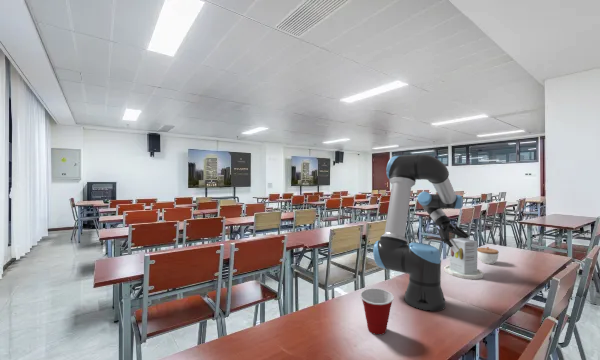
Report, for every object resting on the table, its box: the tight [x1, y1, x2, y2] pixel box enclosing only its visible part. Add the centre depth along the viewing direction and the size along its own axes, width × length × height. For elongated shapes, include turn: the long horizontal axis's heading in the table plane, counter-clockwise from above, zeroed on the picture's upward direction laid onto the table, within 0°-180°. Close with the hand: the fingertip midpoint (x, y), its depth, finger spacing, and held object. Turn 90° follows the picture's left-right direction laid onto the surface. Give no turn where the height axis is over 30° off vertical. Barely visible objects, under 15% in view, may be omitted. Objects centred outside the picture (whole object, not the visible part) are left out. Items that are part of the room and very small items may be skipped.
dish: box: [443, 264, 485, 280], centre depth 147 cm, size 18×18×2 cm
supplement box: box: [449, 237, 479, 274], centre depth 147 cm, size 10×9×17 cm
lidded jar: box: [477, 246, 499, 265], centre depth 166 cm, size 11×11×9 cm
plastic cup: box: [359, 287, 395, 335], centre depth 91 cm, size 11×11×12 cm
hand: (465, 250), depth 147 cm, fingers open, 13 cm apart
